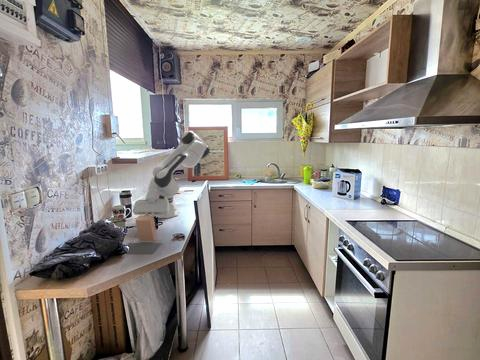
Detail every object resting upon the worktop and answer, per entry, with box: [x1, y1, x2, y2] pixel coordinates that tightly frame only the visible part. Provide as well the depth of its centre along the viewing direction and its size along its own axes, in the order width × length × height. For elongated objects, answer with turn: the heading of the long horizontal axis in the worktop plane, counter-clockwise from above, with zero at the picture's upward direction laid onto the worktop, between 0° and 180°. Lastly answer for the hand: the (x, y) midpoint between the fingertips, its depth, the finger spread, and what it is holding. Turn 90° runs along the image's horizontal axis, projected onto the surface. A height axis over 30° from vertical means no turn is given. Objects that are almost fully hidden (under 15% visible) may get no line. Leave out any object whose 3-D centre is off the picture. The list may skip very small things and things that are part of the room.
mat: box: [124, 242, 163, 255], centre depth 136 cm, size 14×18×1 cm
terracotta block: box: [135, 215, 158, 243], centre depth 144 cm, size 5×8×14 cm, turn 88°
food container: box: [107, 217, 127, 229], centre depth 153 cm, size 12×6×10 cm, turn 141°
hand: (148, 220), depth 145 cm, fingers closed
